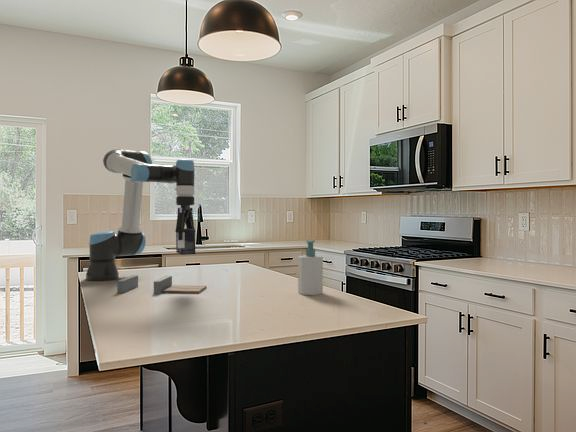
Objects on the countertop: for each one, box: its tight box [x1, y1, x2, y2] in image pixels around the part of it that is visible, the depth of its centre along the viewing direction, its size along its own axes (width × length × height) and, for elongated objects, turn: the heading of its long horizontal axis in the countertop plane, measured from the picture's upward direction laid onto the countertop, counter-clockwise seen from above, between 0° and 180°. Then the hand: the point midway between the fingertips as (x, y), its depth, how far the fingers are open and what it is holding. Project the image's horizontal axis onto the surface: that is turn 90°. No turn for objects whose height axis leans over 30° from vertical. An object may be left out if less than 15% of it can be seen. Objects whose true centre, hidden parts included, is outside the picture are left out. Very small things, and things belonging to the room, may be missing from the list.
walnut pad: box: [162, 284, 207, 295], centre depth 198 cm, size 13×15×1 cm
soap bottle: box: [297, 239, 324, 296], centre depth 193 cm, size 10×9×22 cm
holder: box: [116, 274, 173, 295], centre depth 199 cm, size 16×18×5 cm
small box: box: [175, 227, 196, 255], centre depth 198 cm, size 11×6×10 cm, turn 25°
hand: (185, 246), depth 198 cm, fingers closed on small box, 12 cm apart
